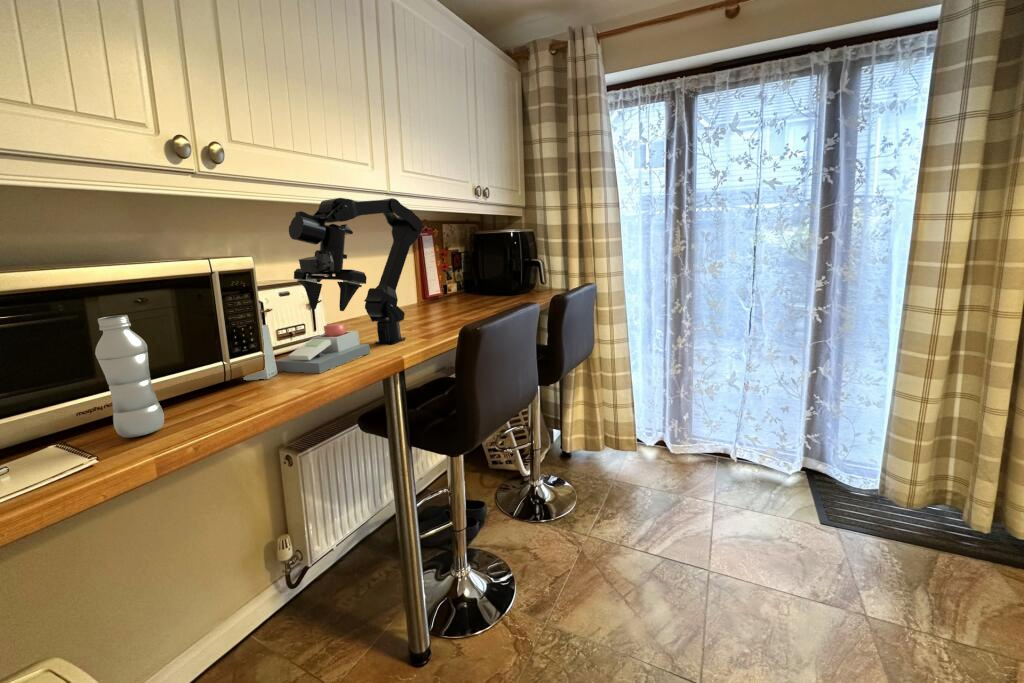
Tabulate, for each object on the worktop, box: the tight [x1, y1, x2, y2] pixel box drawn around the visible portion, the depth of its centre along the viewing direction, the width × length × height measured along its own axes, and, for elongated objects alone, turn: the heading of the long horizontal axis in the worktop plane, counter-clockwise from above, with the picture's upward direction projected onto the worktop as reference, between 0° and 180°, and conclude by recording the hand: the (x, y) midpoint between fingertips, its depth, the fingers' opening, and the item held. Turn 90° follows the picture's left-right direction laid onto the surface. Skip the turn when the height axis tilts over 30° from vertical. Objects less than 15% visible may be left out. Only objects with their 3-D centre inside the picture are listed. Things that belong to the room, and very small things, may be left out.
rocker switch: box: [287, 339, 331, 360], centre depth 115 cm, size 8×6×1 cm
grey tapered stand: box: [242, 324, 279, 381], centre depth 108 cm, size 6×4×12 cm
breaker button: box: [323, 323, 346, 337], centre depth 123 cm, size 5×5×4 cm
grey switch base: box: [275, 330, 371, 374], centre depth 119 cm, size 18×14×6 cm
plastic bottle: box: [94, 314, 165, 439], centre depth 77 cm, size 6×7×20 cm
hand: (327, 310), depth 120 cm, fingers open, 9 cm apart
